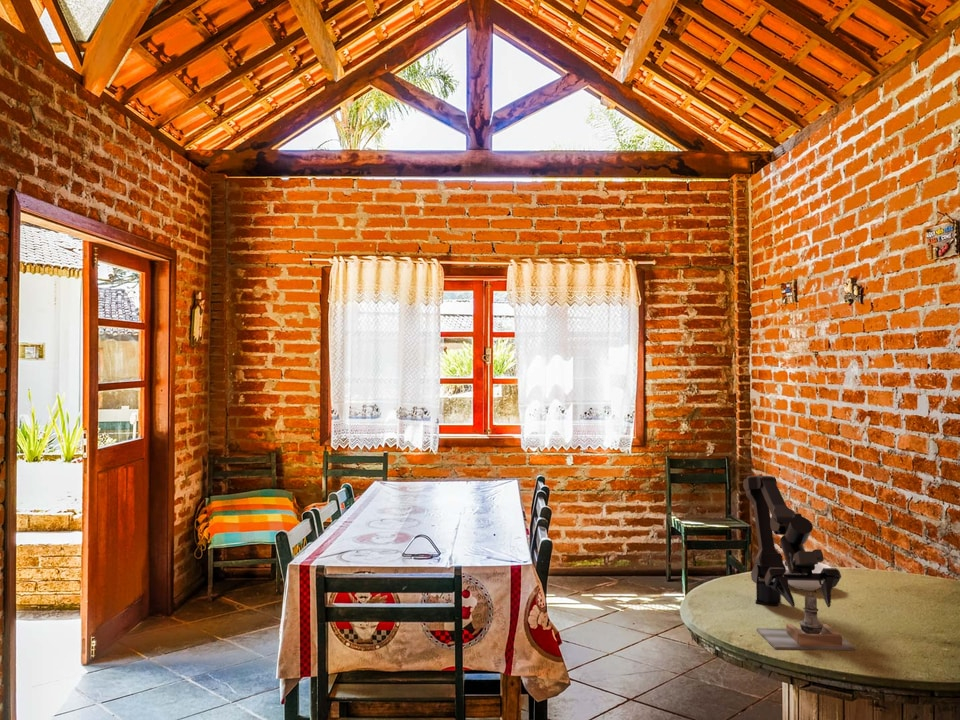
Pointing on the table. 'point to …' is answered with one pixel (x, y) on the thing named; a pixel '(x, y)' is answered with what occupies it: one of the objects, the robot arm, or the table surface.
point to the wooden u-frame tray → (804, 639)
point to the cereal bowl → (807, 584)
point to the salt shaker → (810, 616)
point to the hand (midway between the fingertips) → (811, 606)
